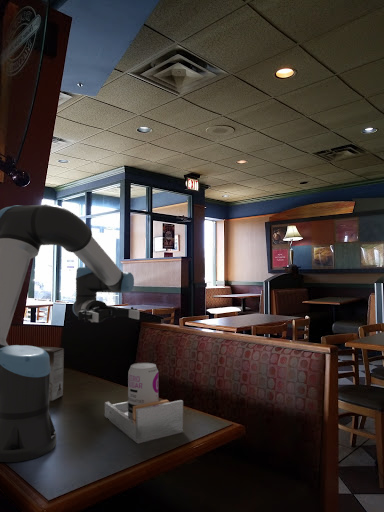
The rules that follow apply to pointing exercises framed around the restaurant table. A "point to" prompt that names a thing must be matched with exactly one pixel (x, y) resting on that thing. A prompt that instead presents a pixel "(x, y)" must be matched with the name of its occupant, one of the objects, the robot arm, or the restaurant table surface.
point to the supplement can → (142, 385)
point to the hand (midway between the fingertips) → (118, 316)
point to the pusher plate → (146, 406)
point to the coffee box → (55, 371)
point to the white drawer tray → (147, 420)
